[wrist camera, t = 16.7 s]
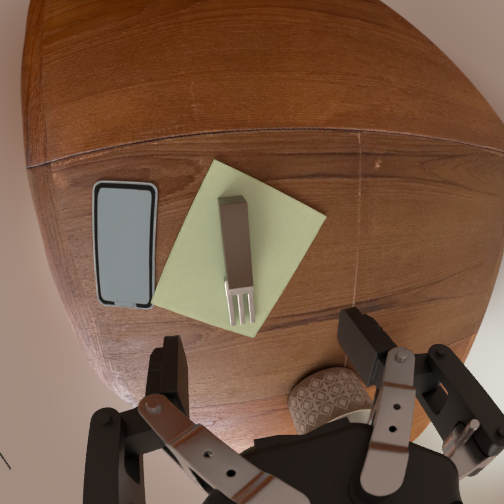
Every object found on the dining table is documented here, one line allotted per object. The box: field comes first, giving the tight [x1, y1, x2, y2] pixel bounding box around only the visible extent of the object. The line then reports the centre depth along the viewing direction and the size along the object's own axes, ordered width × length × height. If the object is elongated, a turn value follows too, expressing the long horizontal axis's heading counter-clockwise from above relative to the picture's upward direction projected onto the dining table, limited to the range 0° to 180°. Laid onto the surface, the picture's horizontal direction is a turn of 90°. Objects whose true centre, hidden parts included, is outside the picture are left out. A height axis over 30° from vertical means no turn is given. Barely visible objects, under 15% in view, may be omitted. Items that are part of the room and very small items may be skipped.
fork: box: [217, 195, 255, 326], centre depth 31 cm, size 15×3×3 cm, turn 4°
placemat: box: [151, 159, 326, 338], centre depth 33 cm, size 18×14×1 cm
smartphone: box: [92, 180, 158, 309], centre depth 30 cm, size 7×1×15 cm
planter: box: [288, 367, 373, 435], centre depth 40 cm, size 13×13×10 cm
